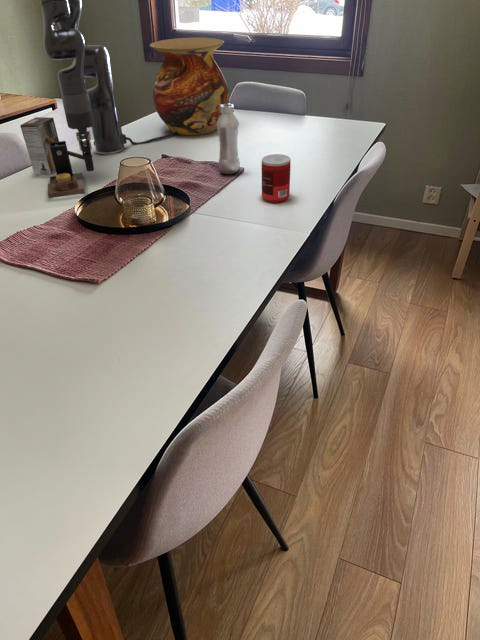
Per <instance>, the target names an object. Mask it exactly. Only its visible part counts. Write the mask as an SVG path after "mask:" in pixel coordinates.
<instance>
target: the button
mask: <svg viewBox="0 0 480 640" xmlns="http://www.w3.org/2000/svg"><path fill="white" fill-rule="evenodd" d="M55 176H56V179H57V183H67V182H70V181H71V176H70V174H68V173H62V174H59V175H57V174H56V175H55Z"/></svg>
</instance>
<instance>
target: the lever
mask: <svg viewBox="0 0 480 640" xmlns="http://www.w3.org/2000/svg"><path fill="white" fill-rule="evenodd" d="M55 146H58V144H55ZM67 153H68V155H69V157H74V158H77V159H80V160H83V161H85V160H84V158H83V154H80V153H77V152H74V151H71V150H69V149H67Z"/></svg>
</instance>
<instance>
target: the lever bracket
mask: <svg viewBox="0 0 480 640" xmlns="http://www.w3.org/2000/svg"><path fill="white" fill-rule="evenodd" d="M55 144H58V146H55ZM50 145H51V146H50V150H51V153H52V157H53V161H54V165H55V169H56V172H55V173H56V175H51V176H50V177H49V184H50V183H52V180H54V179H55V178H56V176H57V175H59V174H62V173H68V174H70V176H74V177H76V179H77V180H81V179H83V178H84V177H83V172H77V173H74V171H73V167H72V163H71V159H70V155H68V153H67V150H68V146H67V141H66V140H59V141H58V142H50ZM83 180H84V179H83Z"/></svg>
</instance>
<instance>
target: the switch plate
mask: <svg viewBox="0 0 480 640" xmlns="http://www.w3.org/2000/svg"><path fill="white" fill-rule="evenodd" d="M85 191H86V190H85V185H84V179H81V180H77V179H76V177H74V176H71V181H70V182H67V183H57V179H56V178H55V179H54V180H52V183H50V182H49V183H47V196H48V197H47V198H48V199H51V198H52V199H53V198H59V197H66V196H74V195H75V196H76V195H80V194H81V195H82V194H85V193H86V192H85Z"/></svg>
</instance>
